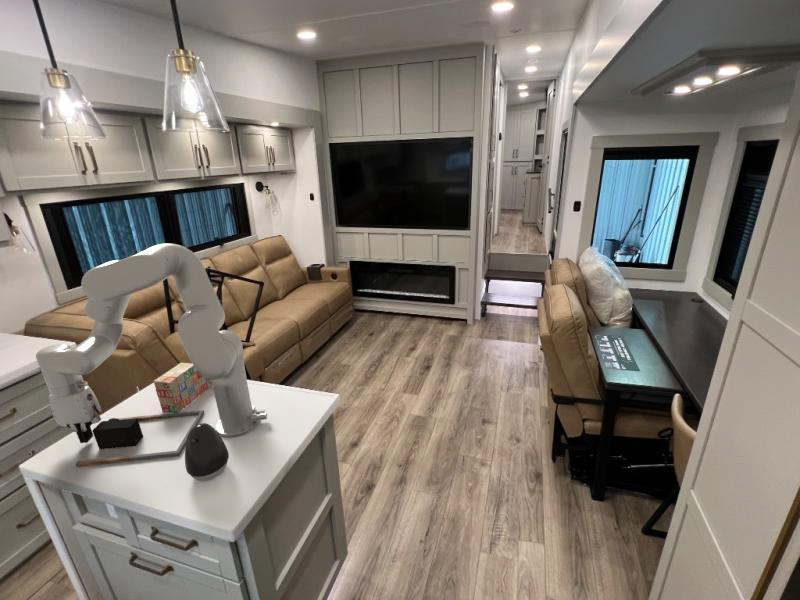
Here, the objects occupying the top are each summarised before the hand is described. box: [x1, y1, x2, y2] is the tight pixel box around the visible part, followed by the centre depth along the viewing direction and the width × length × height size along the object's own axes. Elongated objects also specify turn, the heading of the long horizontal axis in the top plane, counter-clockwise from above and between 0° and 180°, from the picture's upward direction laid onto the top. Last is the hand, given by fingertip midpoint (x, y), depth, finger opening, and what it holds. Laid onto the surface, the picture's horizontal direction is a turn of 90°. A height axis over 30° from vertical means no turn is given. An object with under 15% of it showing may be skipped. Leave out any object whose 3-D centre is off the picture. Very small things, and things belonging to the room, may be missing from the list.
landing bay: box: [130, 409, 206, 462], centre depth 116 cm, size 13×20×1 cm, turn 7°
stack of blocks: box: [153, 362, 213, 414], centre depth 135 cm, size 21×6×12 cm, turn 168°
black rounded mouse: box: [184, 422, 230, 482], centre depth 99 cm, size 10×10×15 cm
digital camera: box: [92, 417, 144, 451], centre depth 113 cm, size 10×5×7 cm, turn 96°
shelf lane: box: [75, 413, 163, 468], centre depth 115 cm, size 14×20×1 cm
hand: (87, 439), depth 114 cm, fingers closed
